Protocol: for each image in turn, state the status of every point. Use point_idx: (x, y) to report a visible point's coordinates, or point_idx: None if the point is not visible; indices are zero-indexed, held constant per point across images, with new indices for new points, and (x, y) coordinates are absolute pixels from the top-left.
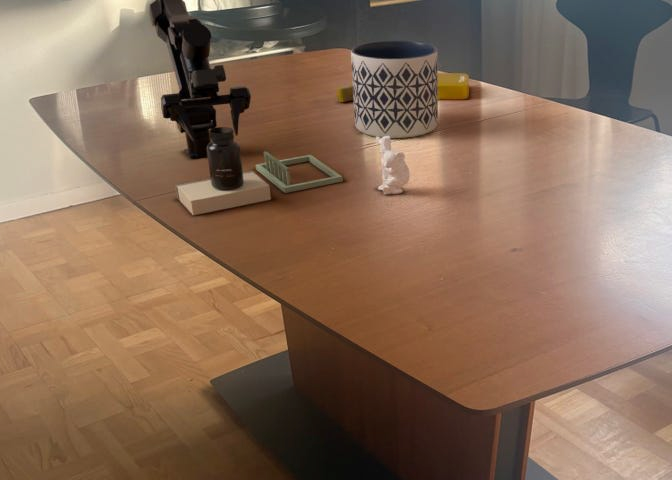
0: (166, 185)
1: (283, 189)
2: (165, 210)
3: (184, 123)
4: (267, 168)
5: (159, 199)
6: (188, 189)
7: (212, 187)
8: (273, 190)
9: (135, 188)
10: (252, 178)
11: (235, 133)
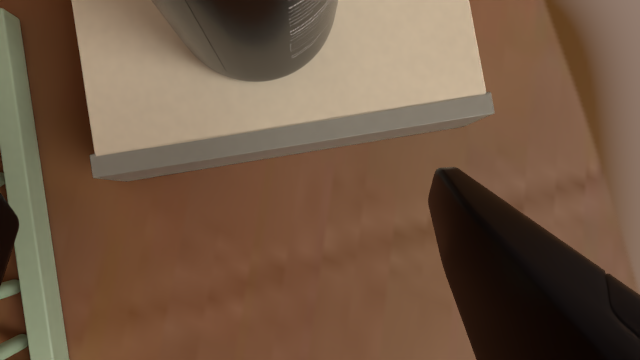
0: None
1: (12, 25)
2: (516, 26)
3: (624, 285)
4: (13, 340)
5: (530, 155)
6: (441, 30)
7: None
8: (61, 74)
9: None
10: (119, 60)
11: (3, 221)
